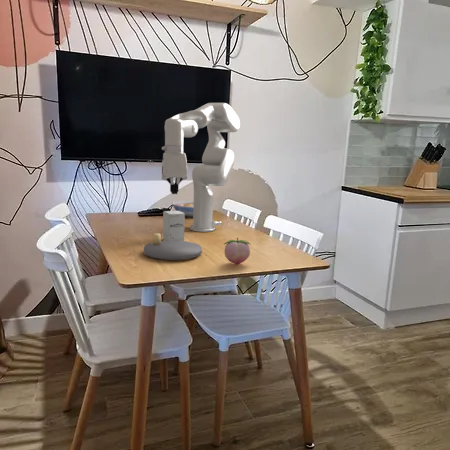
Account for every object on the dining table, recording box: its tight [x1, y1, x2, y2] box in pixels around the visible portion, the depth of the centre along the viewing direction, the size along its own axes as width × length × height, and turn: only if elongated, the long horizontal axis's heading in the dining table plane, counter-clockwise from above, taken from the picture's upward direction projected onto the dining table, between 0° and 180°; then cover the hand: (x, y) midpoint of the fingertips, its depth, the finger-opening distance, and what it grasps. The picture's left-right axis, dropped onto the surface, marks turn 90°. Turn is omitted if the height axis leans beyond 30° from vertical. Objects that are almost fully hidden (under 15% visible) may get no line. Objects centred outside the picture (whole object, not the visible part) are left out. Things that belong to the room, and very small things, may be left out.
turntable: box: [143, 232, 203, 261], centre depth 154 cm, size 22×22×6 cm
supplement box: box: [162, 210, 186, 241], centre depth 173 cm, size 7×7×13 cm
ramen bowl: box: [171, 200, 194, 218], centre depth 232 cm, size 25×23×8 cm
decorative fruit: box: [224, 237, 252, 265], centre depth 143 cm, size 9×8×10 cm
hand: (174, 193), depth 170 cm, fingers closed
